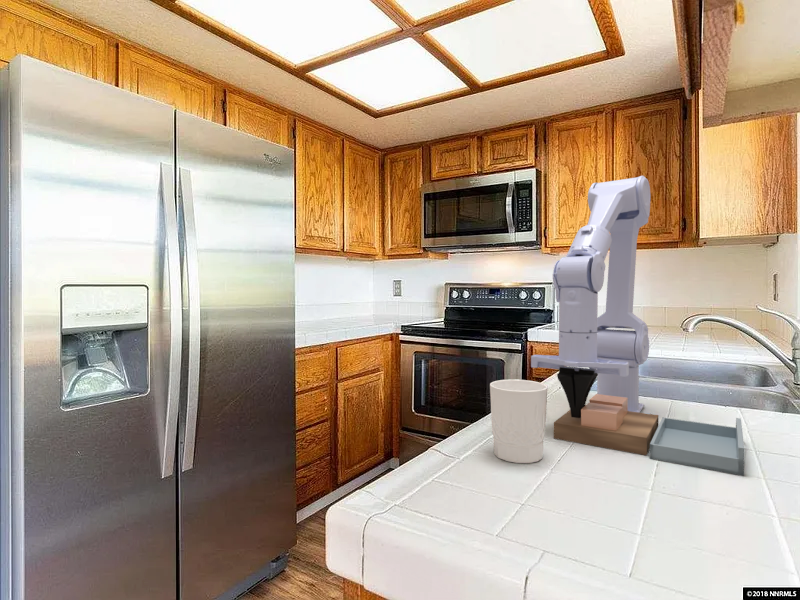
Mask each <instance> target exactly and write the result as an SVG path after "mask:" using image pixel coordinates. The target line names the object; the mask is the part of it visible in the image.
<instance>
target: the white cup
mask: <svg viewBox="0 0 800 600" xmlns="http://www.w3.org/2000/svg"><path fill="white" fill-rule="evenodd" d="M548 387H549V386H548V385H546V384H545V383H542V382H538V381H533V380H529V379H528V380H526V379H500V380H495V381H492V382H490V383H489V393H490V394H489V395H490V417H491V418H490V419H491V420H490V421H491V429H492V436H493V437H492V438H493V439H492V440H493V454H494V455H495V457H497V458H498V459H501V460H503V461H505V462H508V463H509V462H510V463H516V464H531V463H537V462H539V461H540V460H542V459H543V457H544V440H545V437H546V434H545V433H546V420H547V405H548V403H547V402H548Z"/></svg>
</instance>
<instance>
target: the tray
mask: <svg viewBox="0 0 800 600" xmlns="http://www.w3.org/2000/svg"><path fill="white" fill-rule="evenodd" d="M743 432H744V431H743V425H742V418H740V417H735V427H734V426H727V425H721V424H720V425H719V424H714V423H713V424H712V423H706V422H705V423H704V422H701V421H700V422H697V421H694V420H693V421H691V420H684V419H677V418H671V417H661V420H660V421H659V423H658V428H657V430H656V432H655V434H654V436H653V439H652V441H651V443H650V449H649V459H650V460H657V461H662V462H667V463H673V464H678V465H684V466H688V467H692V468H693V467H694V468H699V469H704V470H709V471H714V472H715V471H716V472H720V473H726V474H732V475H735V476H736V475H737V476H741V477H744V476H745V443H744V442H745V441H744V433H743Z"/></svg>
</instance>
